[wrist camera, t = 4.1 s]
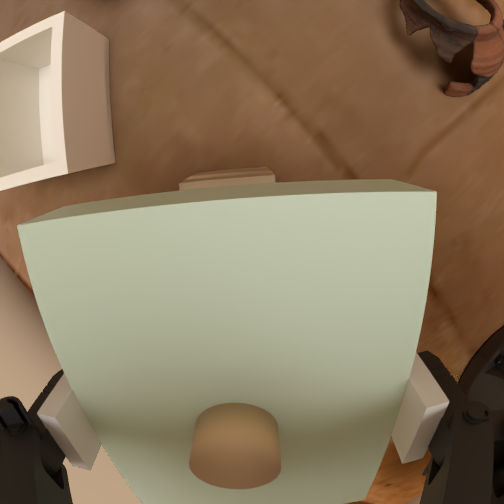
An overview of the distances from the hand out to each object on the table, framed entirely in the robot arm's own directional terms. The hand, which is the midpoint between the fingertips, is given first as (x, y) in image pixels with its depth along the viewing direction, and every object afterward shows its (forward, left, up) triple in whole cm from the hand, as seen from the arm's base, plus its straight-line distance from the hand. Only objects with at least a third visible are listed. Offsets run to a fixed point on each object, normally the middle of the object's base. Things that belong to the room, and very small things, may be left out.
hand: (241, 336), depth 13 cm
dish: (+12, +12, -11) cm, 21 cm away
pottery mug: (+17, -18, -12) cm, 28 cm away
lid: (0, 0, +3) cm, 3 cm away
